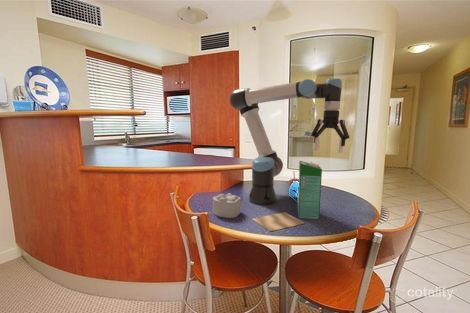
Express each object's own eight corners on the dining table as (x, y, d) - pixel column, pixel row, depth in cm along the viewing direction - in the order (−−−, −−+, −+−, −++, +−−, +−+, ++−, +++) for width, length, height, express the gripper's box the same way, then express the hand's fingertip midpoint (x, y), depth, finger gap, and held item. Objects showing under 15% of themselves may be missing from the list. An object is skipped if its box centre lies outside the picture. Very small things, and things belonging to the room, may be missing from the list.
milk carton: (319, 219, 109) (322, 164, 106) (298, 217, 111) (300, 163, 107) (316, 212, 118) (319, 160, 114) (297, 210, 120) (299, 160, 116)
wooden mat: (284, 212, 117) (284, 212, 117) (305, 223, 105) (305, 222, 105) (252, 219, 109) (252, 218, 109) (269, 231, 97) (269, 231, 97)
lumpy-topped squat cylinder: (234, 218, 110) (234, 200, 109) (208, 214, 115) (208, 196, 114) (242, 211, 120) (242, 193, 118) (218, 207, 124) (218, 191, 123)
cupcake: (285, 188, 159) (286, 170, 158) (296, 187, 163) (296, 169, 161) (293, 192, 152) (294, 173, 150) (304, 190, 155) (305, 171, 153)
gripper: (306, 109, 134) (303, 148, 137) (352, 109, 115) (348, 154, 118) (314, 110, 138) (311, 147, 142) (359, 110, 120) (355, 153, 123)
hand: (328, 150), depth 130 cm, fingers open, 13 cm apart
